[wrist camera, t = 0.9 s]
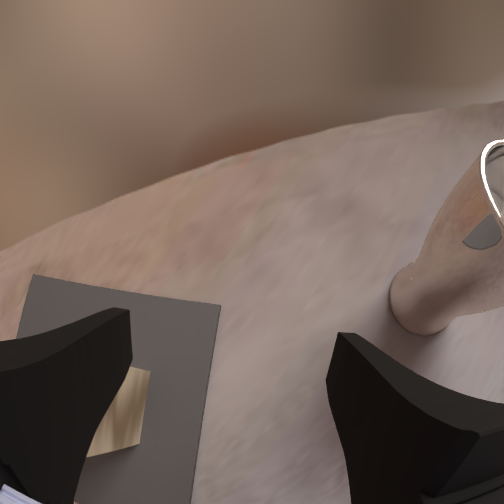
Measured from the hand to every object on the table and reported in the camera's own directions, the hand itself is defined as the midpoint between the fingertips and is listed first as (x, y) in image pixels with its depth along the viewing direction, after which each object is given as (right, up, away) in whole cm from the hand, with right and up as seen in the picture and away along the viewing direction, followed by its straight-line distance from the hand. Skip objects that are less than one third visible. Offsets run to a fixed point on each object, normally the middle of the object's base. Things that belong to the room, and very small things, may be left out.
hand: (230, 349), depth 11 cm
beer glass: (+14, -1, +13) cm, 19 cm away
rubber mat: (-13, -9, +12) cm, 20 cm away
